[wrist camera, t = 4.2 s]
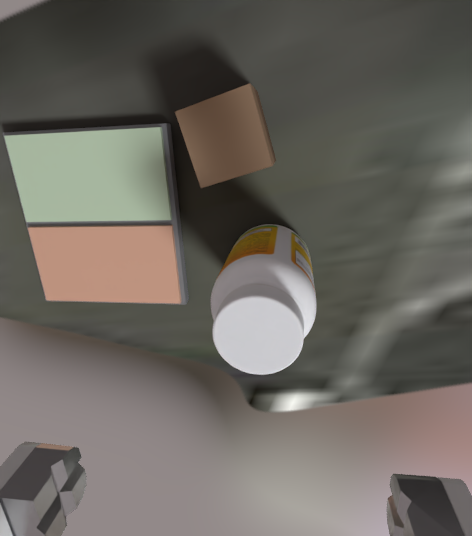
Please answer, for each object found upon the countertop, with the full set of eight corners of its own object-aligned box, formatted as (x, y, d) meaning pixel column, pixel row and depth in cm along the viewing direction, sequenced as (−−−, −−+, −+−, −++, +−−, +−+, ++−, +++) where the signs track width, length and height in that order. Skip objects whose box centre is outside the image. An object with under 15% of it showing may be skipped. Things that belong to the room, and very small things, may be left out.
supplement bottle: (220, 280, 25) (180, 362, 16) (247, 210, 23) (218, 260, 14) (291, 308, 25) (290, 405, 16) (324, 240, 23) (343, 310, 14)
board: (170, 123, 22) (164, 123, 21) (188, 299, 26) (184, 306, 25) (11, 132, 24) (-1, 132, 23) (52, 296, 28) (43, 302, 27)
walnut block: (257, 91, 21) (249, 83, 17) (276, 159, 22) (272, 165, 18) (194, 114, 22) (174, 111, 18) (215, 179, 23) (200, 188, 19)
